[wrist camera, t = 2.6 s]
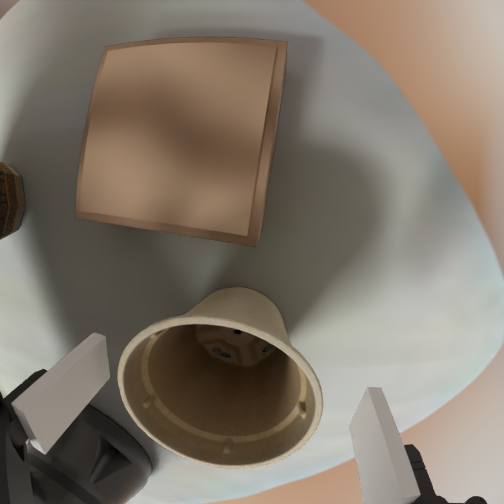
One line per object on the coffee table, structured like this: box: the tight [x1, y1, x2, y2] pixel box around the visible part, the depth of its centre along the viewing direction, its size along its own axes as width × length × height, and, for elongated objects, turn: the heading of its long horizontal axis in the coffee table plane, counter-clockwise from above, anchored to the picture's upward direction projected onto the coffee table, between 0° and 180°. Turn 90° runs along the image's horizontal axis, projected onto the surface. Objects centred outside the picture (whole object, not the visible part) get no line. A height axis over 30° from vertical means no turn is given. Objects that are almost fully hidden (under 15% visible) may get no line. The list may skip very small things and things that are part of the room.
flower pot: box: [117, 287, 323, 469], centre depth 15 cm, size 9×9×9 cm
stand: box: [75, 37, 287, 247], centre depth 15 cm, size 11×11×4 cm
